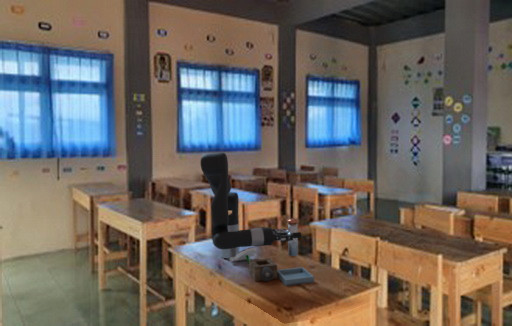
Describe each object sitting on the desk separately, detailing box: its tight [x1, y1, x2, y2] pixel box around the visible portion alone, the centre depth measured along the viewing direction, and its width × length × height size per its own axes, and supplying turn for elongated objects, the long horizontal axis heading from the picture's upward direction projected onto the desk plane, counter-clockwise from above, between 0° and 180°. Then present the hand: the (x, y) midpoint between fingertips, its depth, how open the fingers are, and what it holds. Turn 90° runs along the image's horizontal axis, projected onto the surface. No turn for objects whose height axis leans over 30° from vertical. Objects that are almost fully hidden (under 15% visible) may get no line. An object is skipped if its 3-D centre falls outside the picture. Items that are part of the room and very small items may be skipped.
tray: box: [277, 266, 315, 287], centre depth 177 cm, size 13×13×2 cm
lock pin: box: [286, 218, 299, 257], centre depth 176 cm, size 5×5×15 cm
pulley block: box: [248, 257, 278, 282], centre depth 181 cm, size 12×10×6 cm
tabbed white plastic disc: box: [228, 246, 258, 265], centre depth 201 cm, size 15×8×11 cm
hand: (298, 233), depth 176 cm, fingers closed on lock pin, 4 cm apart
